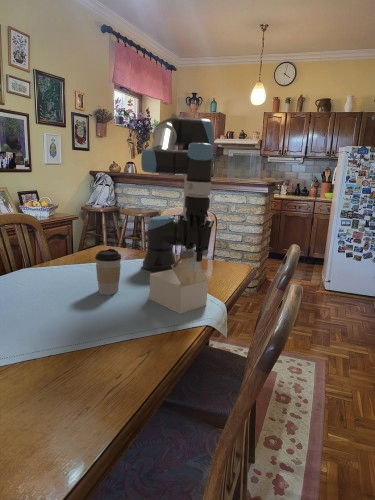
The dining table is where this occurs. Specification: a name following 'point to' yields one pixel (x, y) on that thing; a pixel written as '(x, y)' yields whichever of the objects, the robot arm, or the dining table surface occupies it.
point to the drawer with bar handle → (188, 270)
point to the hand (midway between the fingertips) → (193, 269)
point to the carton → (177, 292)
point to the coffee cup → (108, 271)
